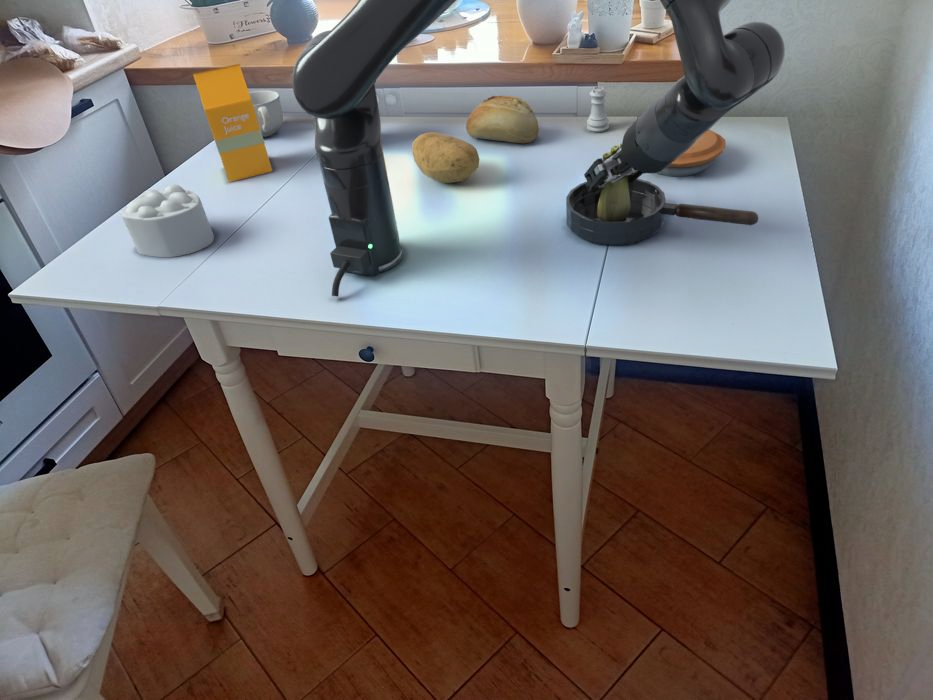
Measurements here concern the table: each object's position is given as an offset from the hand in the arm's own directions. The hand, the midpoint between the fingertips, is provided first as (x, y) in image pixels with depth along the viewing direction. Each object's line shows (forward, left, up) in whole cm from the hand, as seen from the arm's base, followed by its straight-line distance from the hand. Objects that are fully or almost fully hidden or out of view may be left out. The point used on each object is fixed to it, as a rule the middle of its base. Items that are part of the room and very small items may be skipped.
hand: (609, 182), depth 110 cm
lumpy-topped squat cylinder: (-25, +69, -6) cm, 73 cm away
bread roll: (+26, +29, -6) cm, 39 cm away
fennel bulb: (-1, -1, -6) cm, 6 cm away
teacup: (+18, +83, -6) cm, 85 cm away
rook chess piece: (+34, +12, -6) cm, 36 cm away
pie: (+22, -6, -6) cm, 24 cm away
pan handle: (-1, -15, -4) cm, 16 cm away
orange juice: (+2, +75, -6) cm, 75 cm away
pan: (-1, -1, -6) cm, 6 cm away
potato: (+7, +32, -6) cm, 33 cm away
